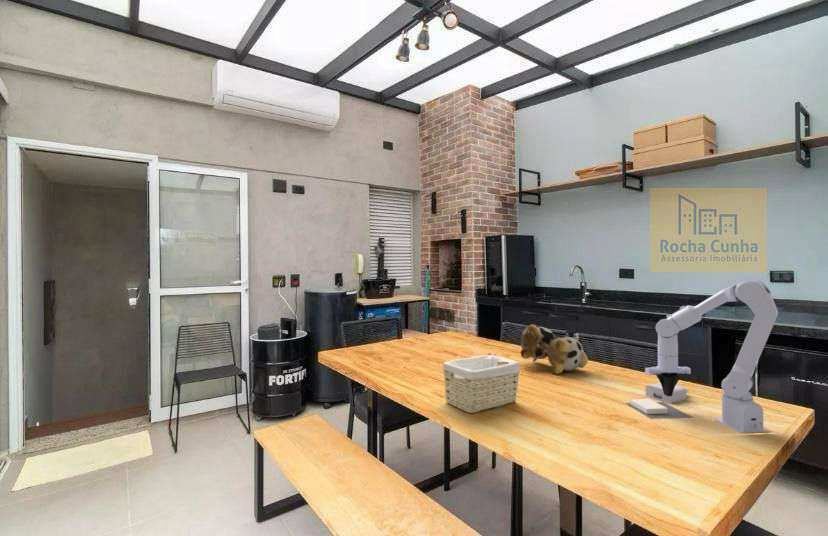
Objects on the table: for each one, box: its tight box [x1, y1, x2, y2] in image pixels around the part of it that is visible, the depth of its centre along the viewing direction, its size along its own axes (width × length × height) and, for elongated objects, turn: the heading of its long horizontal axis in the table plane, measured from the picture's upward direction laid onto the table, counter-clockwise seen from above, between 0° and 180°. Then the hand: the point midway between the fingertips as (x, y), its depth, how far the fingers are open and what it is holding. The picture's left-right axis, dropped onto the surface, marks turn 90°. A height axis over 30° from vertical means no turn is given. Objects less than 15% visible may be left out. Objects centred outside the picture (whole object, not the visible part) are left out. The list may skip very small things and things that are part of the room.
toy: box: [520, 324, 589, 375], centre depth 187 cm, size 22×34×20 cm
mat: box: [624, 401, 694, 420], centre depth 132 cm, size 14×14×1 cm
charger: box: [645, 382, 689, 404], centre depth 145 cm, size 5×9×15 cm
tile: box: [629, 398, 668, 414], centre depth 133 cm, size 9×2×7 cm
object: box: [442, 354, 521, 414], centre depth 141 cm, size 24×16×15 cm
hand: (667, 395), depth 133 cm, fingers closed
